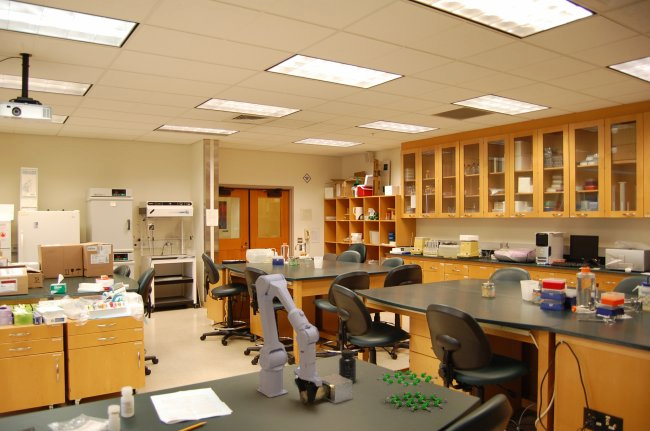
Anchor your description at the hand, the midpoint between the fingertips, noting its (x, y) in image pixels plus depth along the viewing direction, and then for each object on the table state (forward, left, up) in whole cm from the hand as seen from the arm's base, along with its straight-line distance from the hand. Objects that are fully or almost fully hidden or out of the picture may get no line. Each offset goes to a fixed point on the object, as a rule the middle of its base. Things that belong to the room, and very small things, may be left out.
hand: (307, 400), depth 172 cm
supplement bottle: (-10, +26, -2) cm, 28 cm away
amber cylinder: (0, +4, 0) cm, 4 cm away
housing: (0, +12, -1) cm, 12 cm away
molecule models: (+20, +31, -2) cm, 37 cm away
